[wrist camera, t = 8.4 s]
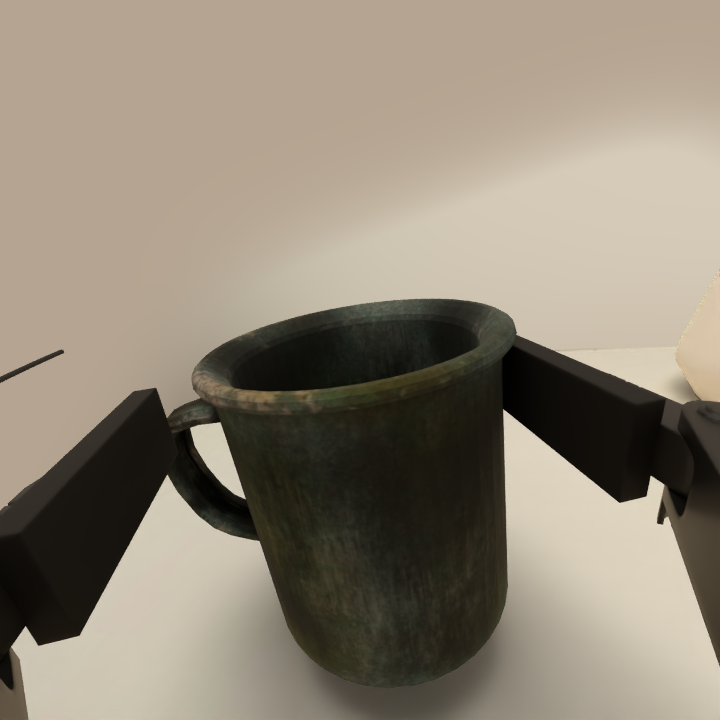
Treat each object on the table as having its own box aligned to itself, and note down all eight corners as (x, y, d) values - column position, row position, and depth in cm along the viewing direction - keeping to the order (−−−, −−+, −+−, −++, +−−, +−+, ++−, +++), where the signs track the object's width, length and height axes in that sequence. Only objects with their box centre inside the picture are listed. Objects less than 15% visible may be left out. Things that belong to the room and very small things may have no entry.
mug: (569, 718, 11) (593, 366, 7) (150, 714, 13) (-15, 433, 9) (483, 485, 21) (473, 287, 17) (255, 501, 23) (200, 326, 19)
